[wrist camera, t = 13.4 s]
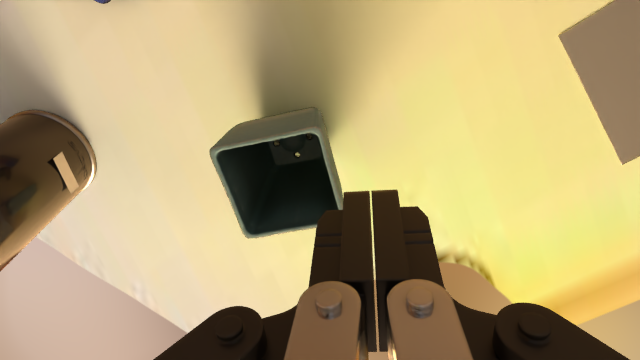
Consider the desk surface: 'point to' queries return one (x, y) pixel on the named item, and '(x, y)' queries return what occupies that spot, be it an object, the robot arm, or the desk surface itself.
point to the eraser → (103, 1)
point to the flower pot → (278, 172)
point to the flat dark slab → (611, 70)
